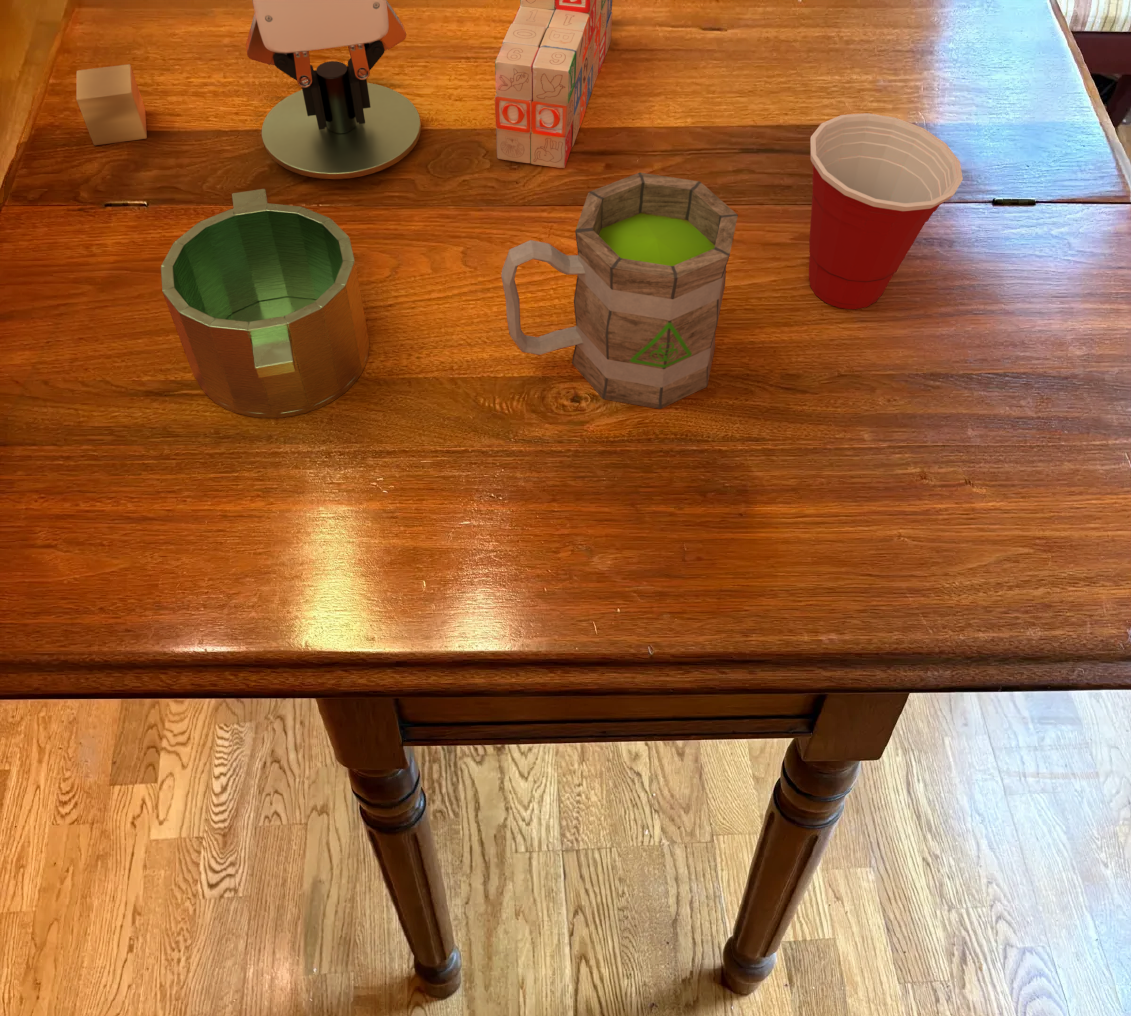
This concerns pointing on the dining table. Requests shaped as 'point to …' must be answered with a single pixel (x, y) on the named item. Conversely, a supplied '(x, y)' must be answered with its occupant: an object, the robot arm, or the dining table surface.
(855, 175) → the plastic cup
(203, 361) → the pot
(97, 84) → the block
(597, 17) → the stack of blocks
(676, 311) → the mug
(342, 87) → the lid
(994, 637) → the dining table surface
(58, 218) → the dining table surface
